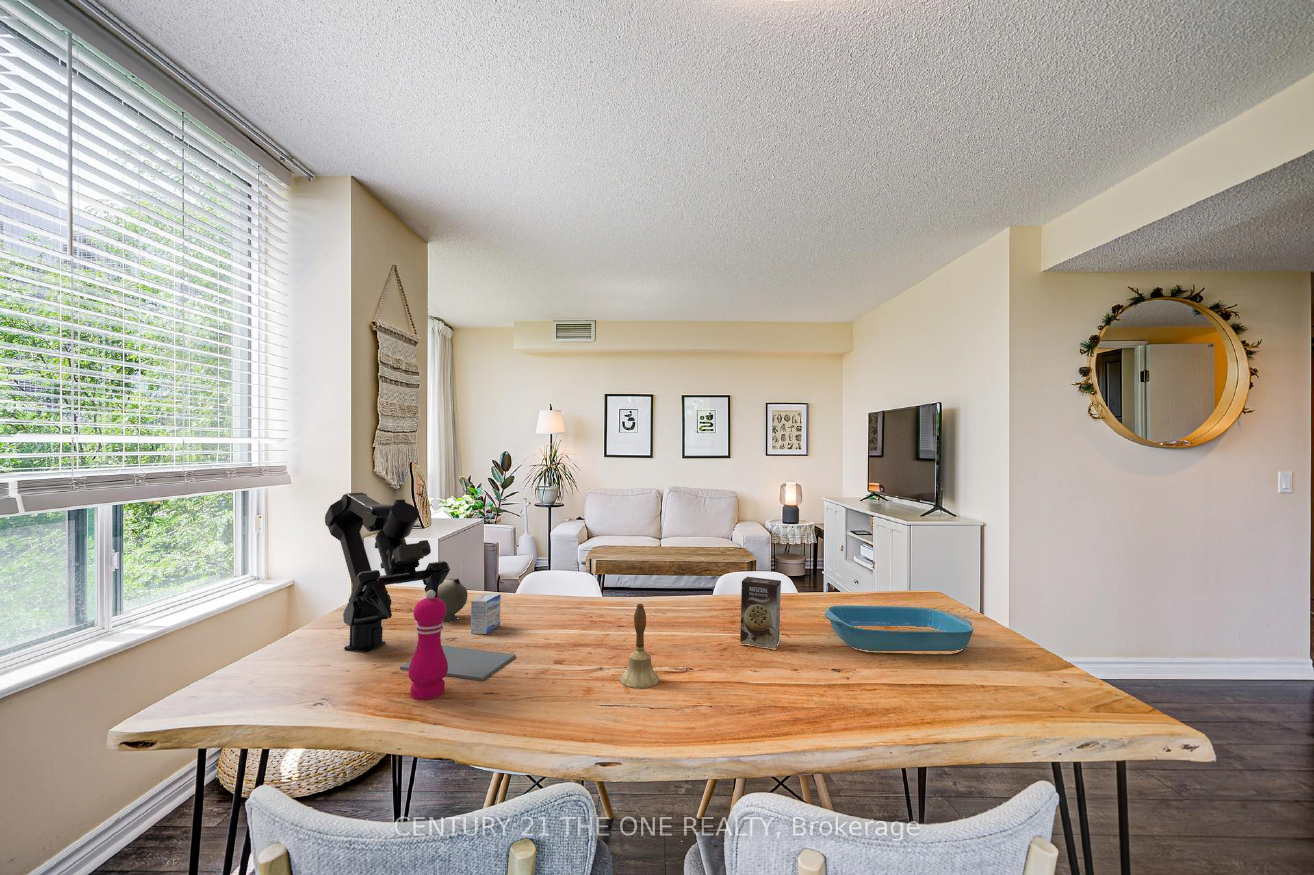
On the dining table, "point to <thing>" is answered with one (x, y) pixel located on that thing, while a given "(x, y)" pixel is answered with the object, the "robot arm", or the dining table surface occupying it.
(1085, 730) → the dining table surface
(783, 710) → the dining table surface
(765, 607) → the coffee box
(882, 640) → the casserole dish
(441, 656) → the magenta pepper mill
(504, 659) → the place mat
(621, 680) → the hand bell
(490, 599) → the medicine box
